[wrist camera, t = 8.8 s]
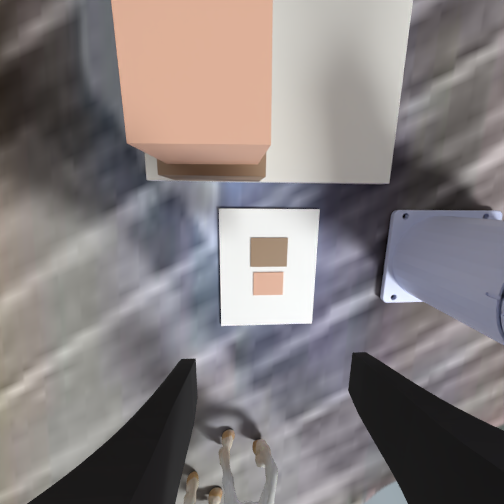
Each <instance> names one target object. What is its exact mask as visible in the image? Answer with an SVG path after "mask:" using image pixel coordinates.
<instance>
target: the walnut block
mask: <svg viewBox="0 0 504 504" xmlns="http://www.w3.org/2000/svg"><path fill="white" fill-rule="evenodd" d="M157 170H158V175H160V176H163V177H166V178H169V179H173V180H183V181H250V182H259V181H260V180H262V179H263V178H265V177H266V153H265V155H264V156H263V158H262V159H261V161H260V162H259V164H258V165H255V164H166V163H164V162H162V161H160V160H158V159H157Z"/></svg>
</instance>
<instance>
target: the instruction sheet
mask: <svg viewBox="0 0 504 504" xmlns="http://www.w3.org/2000/svg"><path fill="white" fill-rule="evenodd" d="M319 213H320V209H219V236H220V285H221V326H234V325H269V324H305V323H312V313H313V299H314V284H315V270H316V256H317V242H318V227H319Z"/></svg>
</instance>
